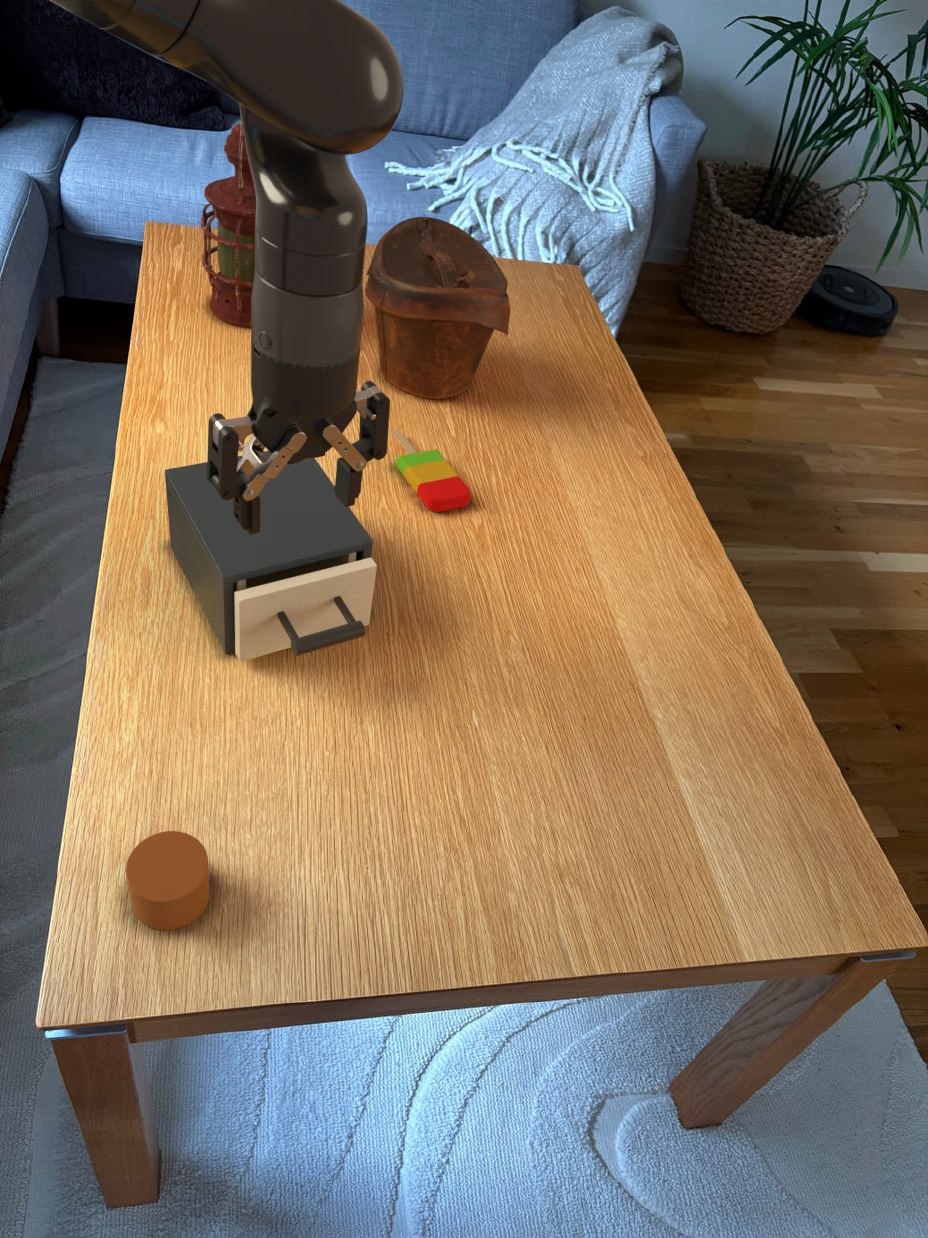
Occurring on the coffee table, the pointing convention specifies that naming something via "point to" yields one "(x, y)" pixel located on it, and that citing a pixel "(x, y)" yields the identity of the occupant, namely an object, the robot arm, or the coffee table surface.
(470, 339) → the case
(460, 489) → the popsicle
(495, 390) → the coffee table surface
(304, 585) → the drawer
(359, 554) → the cabinet
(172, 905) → the orange brown cylinder
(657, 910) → the coffee table surface
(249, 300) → the lantern
